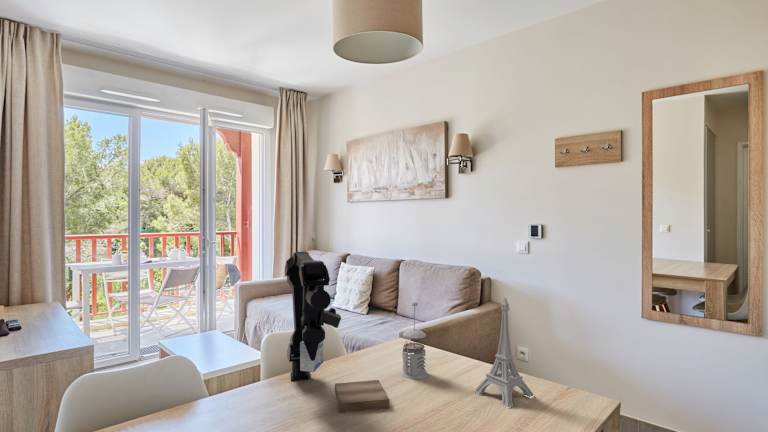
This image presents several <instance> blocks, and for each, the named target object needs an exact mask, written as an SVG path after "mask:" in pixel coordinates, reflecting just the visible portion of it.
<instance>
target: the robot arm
mask: <svg viewBox="0 0 768 432" xmlns="http://www.w3.org/2000/svg"><path fill="white" fill-rule="evenodd" d="M284 275H285V277H286V283H288V285H289V286H290V287H291V294H292V295H291V296H292V311H293V312H292V313H293V333H292V334H291V336H290V338H289V343H288V346H287V351H286V358H287V360H288V362H289V363H291V372H290V381H291V382H293V381H294V382H295V381H305V380H311V379H312V378H311V372H308V371H300V342H302V341H303V342H304V344H305V347H306V349H307V352H308V354H309V357H310V359H311V361H314V360H315V357H316V353H317V349H318V345H319V343H320V342H322V341H323V342H324V340H326V331H325V328H323V326H324V324H325V325H328V326H331V327H333V328H335V329H338V328H339V326H340V323H341V320H342V317H341V315H340V314H339V313H337V310H336V308H334V307H330V308H329V309H328V310H326V309H327V308H328V307H329V306H330V305H331V300H332V299H331V295H330V293H329V292H328V291H327V290H325V287H326V286H330V280H331V278H330V273H329V270H328V267H327V265H326V264H325V263H324V261H323V260H315V259H313V258H312V256H311V255H310V252H308V251H296V252H293V253H292V256H290V257H289V258H288V259H287V260H286V262H285V265H284Z"/></svg>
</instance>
